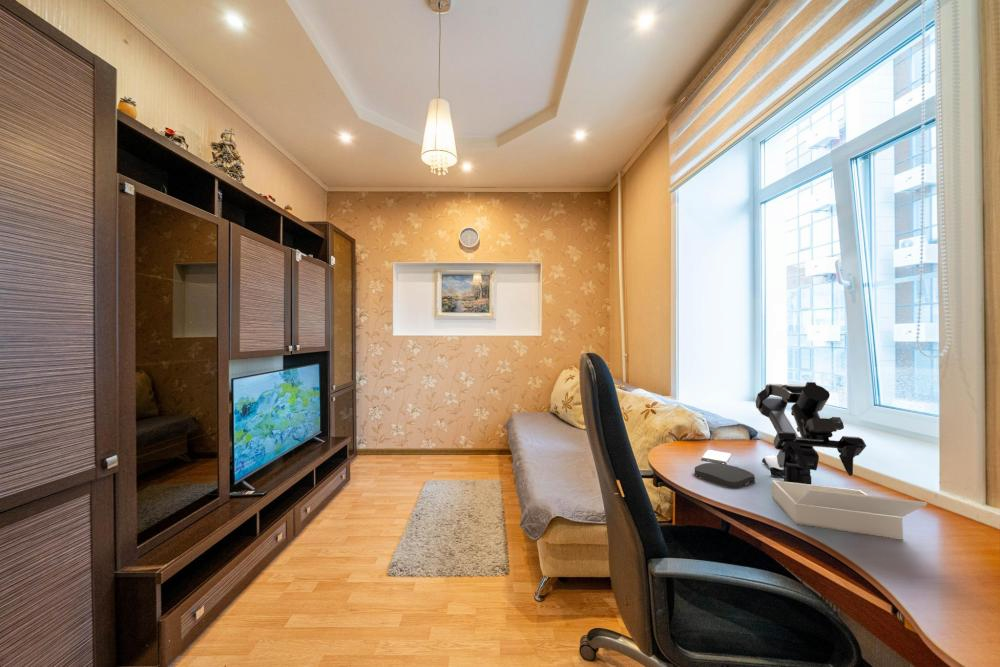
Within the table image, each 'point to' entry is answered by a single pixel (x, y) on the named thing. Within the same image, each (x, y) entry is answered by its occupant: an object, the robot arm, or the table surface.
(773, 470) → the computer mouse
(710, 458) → the external hard drive
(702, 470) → the media streaming box
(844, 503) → the box flap
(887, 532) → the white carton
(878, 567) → the table surface
